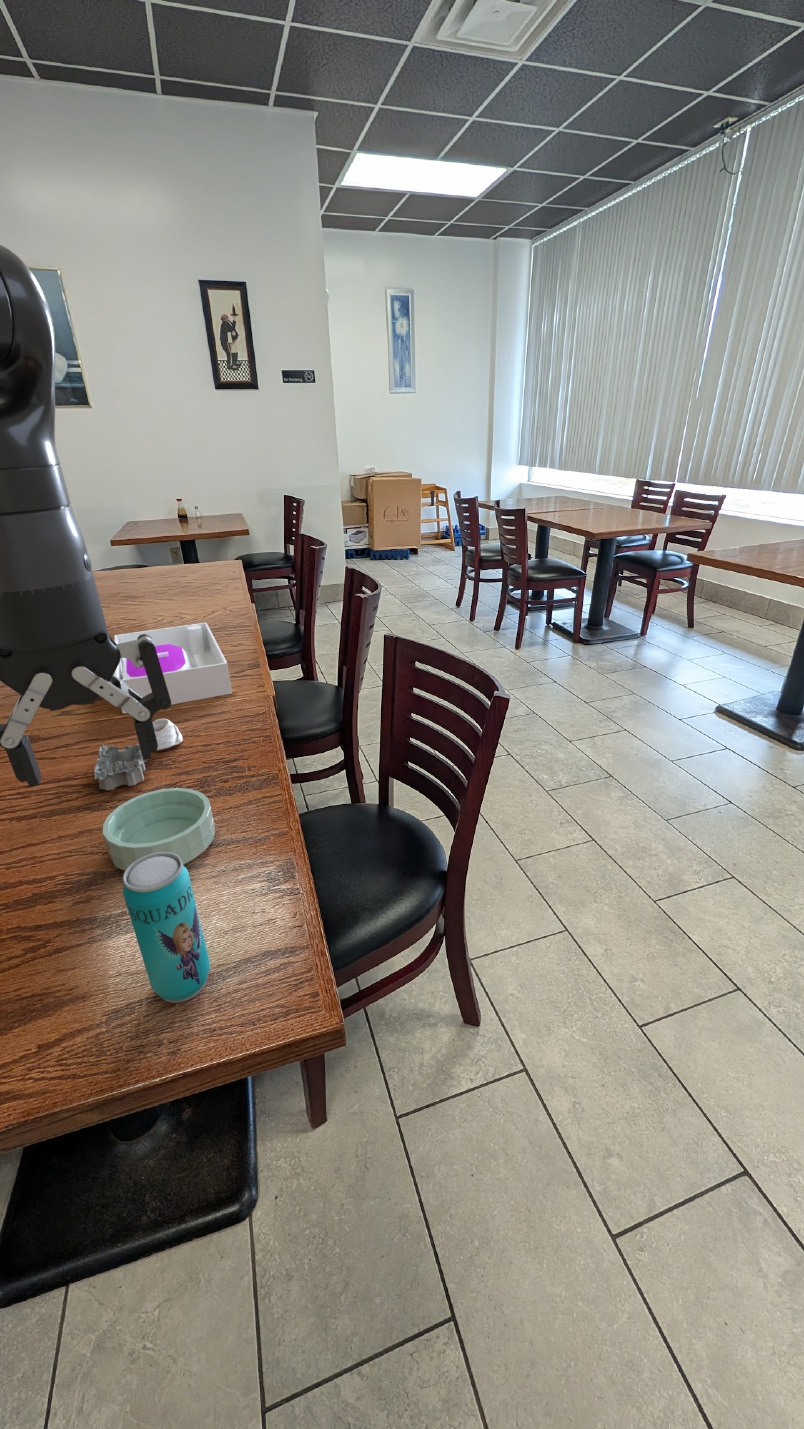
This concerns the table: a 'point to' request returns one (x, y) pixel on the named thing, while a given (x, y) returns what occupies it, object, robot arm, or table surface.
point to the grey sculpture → (119, 766)
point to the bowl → (159, 826)
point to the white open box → (180, 664)
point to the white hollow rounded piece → (166, 734)
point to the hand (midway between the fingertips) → (93, 768)
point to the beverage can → (167, 925)
